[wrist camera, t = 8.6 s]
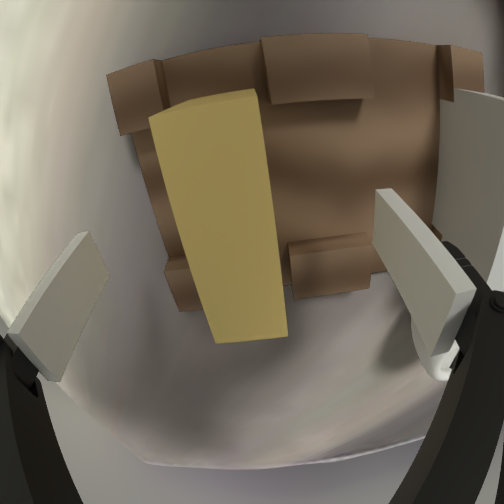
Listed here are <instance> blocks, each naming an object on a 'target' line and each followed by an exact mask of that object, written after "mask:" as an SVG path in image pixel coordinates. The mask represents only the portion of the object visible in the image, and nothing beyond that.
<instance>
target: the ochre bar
mask: <svg viewBox="0 0 504 504" xmlns="http://www.w3.org/2000/svg"><path fill="white" fill-rule="evenodd" d="M148 119H149V123H150V127H151V131H152V136H153V140H154V144H155V148H156V152H157V156H158V160H159V164H160V167H161V171H162V175H163V179H164V182H165V186H166V190H167V193H168V197H169V200H170V204H171V208H172V211H173V215H174V218H175V221H176V225H177V228H178V231H179V235H180V238H181V241H182V245H183V248H184V251H185V254H186V258H187V261H188V264H189V267H190V270H191V273H192V276H193V279H194V282H195V285H196V288H197V291H198V294H199V297H200V300H201V303H202V306H203V309H204V312H205V315H206V318H207V320H208V323H209V326H210V329H211V332H212V335H213V337H214V340H215V343H216V344H218V343H230V342H241V341H252V340H262V339H271V338H279V337H287V336H288V329H287V320H286V310H285V301H284V292H283V283H282V275H281V266H280V258H279V249H278V241H277V233H276V225H275V217H274V210H273V202H272V195H271V187H270V180H269V172H268V165H267V158H266V151H265V144H264V137H263V131H262V124H261V117H260V111H259V104H258V98H257V94H256V92H255V89H254V88H253V89H246V90H239V91H233V92H227V93H221V94H216V95H211V96H205V97H200V98H196V99H191V100H188V101H185V102H183V103H180V104H178V105H175V106H173V107H171V108H168V109H166V110H164V111H162V112H159V113H157V114H155V115H153V116H151V117H149V118H148Z"/></svg>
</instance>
